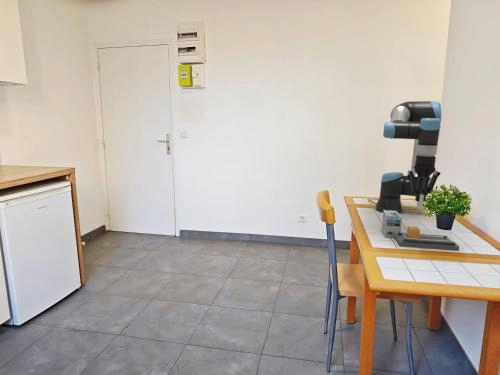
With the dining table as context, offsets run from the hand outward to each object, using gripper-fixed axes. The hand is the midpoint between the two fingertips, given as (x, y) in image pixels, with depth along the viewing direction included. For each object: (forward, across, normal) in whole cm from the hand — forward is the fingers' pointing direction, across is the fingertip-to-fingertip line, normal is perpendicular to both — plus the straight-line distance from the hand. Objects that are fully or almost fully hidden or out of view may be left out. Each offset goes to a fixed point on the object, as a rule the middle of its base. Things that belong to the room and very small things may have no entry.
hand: (419, 208), depth 145 cm
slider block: (+14, -1, 0) cm, 14 cm away
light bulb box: (+17, -8, +11) cm, 21 cm away
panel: (+16, +4, 0) cm, 17 cm away
